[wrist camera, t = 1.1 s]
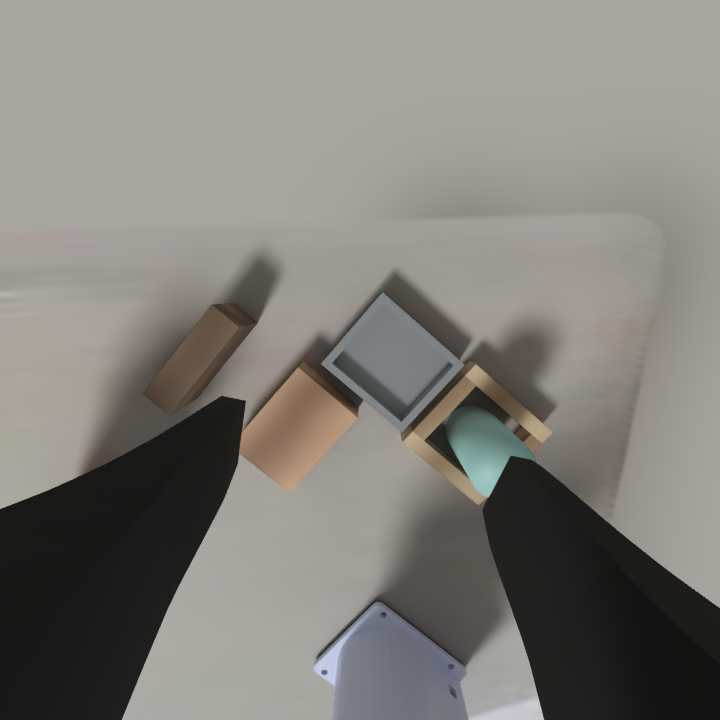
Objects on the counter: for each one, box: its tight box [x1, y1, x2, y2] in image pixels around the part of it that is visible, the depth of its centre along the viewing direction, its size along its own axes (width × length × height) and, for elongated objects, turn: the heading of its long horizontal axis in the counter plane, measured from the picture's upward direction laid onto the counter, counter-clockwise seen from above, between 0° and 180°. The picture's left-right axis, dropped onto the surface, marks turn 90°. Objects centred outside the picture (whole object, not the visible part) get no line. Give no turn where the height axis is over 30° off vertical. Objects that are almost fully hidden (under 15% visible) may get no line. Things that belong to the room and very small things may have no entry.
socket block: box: [401, 360, 553, 506], centre depth 25 cm, size 7×7×2 cm
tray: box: [321, 292, 464, 432], centre depth 24 cm, size 7×6×2 cm
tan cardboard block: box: [239, 362, 358, 493], centre depth 25 cm, size 5×7×2 cm
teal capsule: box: [445, 405, 536, 498], centre depth 23 cm, size 4×4×6 cm
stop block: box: [143, 304, 257, 415], centre depth 23 cm, size 2×7×4 cm, turn 139°
